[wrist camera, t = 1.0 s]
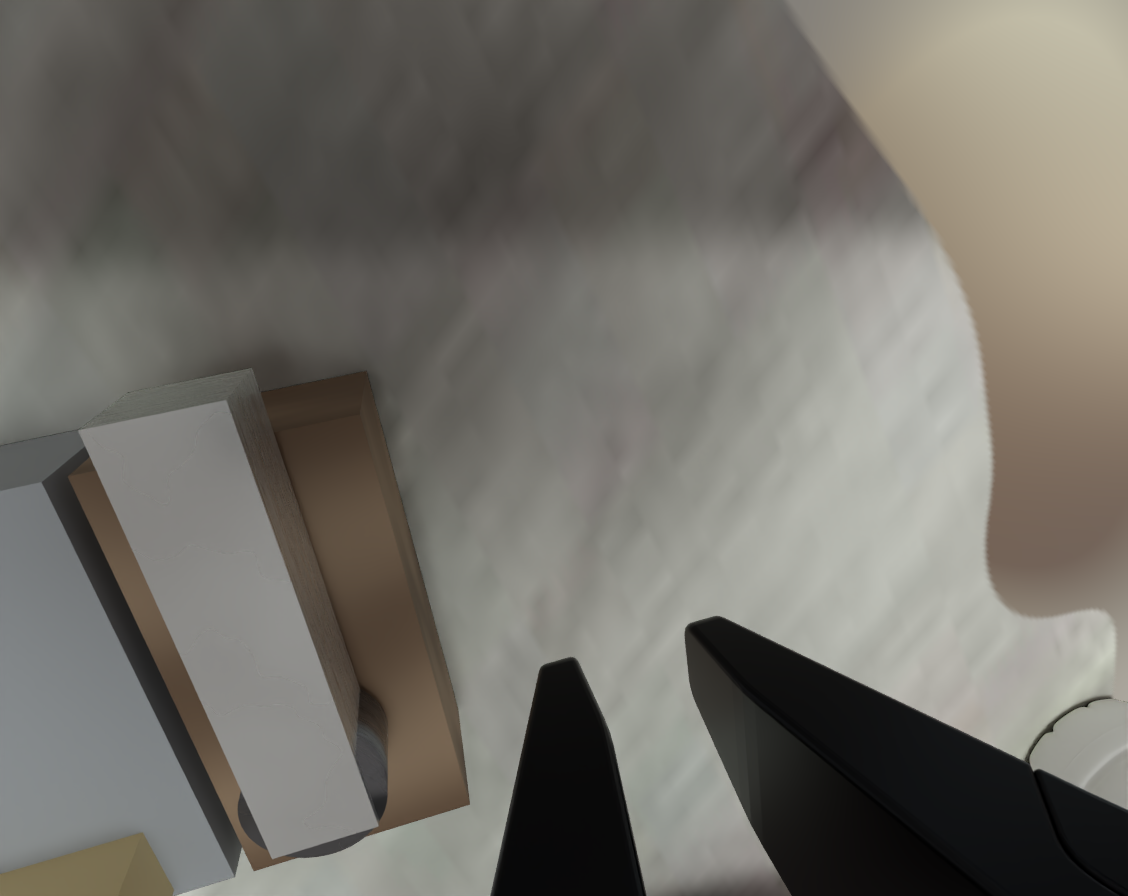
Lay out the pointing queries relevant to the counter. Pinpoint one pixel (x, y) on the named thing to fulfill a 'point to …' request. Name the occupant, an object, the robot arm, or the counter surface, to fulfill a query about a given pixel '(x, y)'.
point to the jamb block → (331, 598)
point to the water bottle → (1089, 750)
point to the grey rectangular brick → (88, 712)
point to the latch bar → (246, 607)
